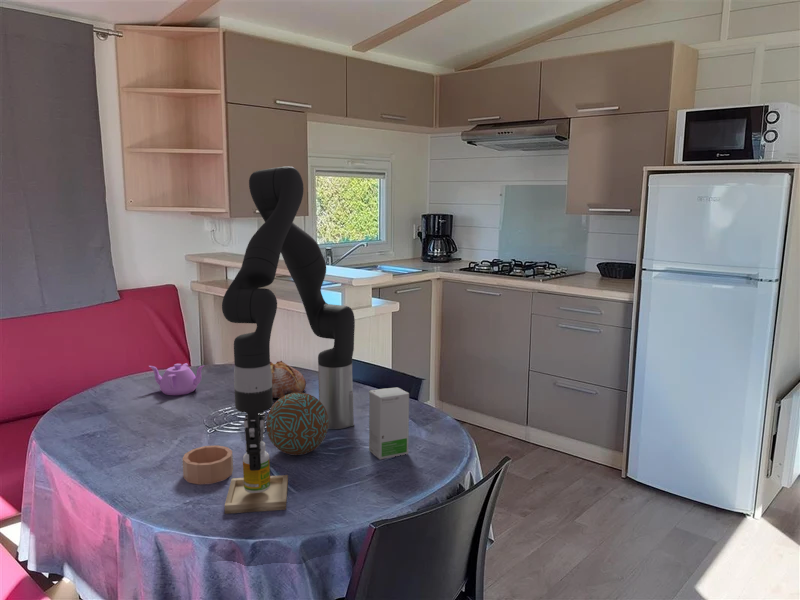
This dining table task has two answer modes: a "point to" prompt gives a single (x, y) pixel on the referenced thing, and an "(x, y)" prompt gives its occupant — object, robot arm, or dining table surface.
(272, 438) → the decorative sphere
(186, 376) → the teapot
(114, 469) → the dining table surface
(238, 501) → the tray
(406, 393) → the skincare box
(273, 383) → the bread
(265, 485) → the supplement bottle
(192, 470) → the holder ring
